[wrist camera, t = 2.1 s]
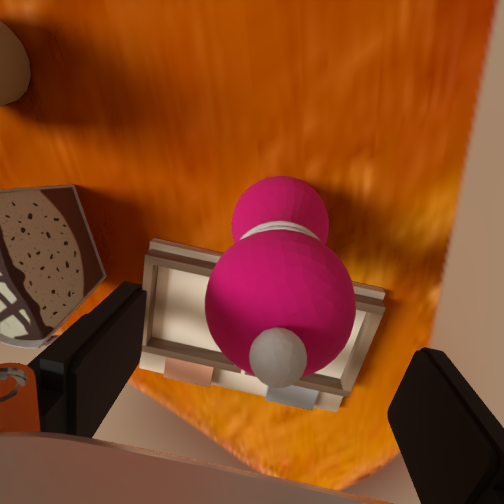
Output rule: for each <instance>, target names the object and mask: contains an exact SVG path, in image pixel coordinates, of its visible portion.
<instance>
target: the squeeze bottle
mask: <svg viewBox="0 0 504 504" xmlns="http://www.w3.org/2000/svg"><path fill="white" fill-rule="evenodd" d="M30 78H31V72H30V62H29V58H28V56H27V53H26V51H25V49H24V46H23V44H22V43H21V41H20V40H19V39H18V38H17V36H16V35H15V34H14V33H13V32H12V30H11V29H10V28H8V27H7V26H6V25H5V24H4V23H3V22H2V21H1V20H0V106H3V105H5V104H8V103H11V102H13V101H16V100H19V99H20V98H21V96H22V95H23V94H24V93H25V92H26V91H27V89H28V85H29V82H30Z"/></svg>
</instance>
